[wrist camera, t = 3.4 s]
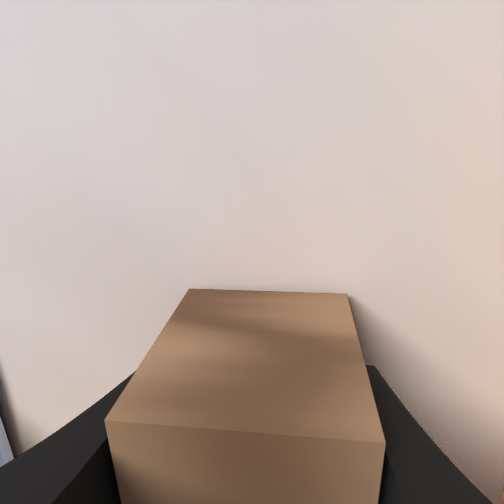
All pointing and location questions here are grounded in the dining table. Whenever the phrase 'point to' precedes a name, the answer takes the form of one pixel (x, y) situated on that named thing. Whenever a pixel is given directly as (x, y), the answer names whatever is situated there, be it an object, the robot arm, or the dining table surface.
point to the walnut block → (250, 406)
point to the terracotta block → (502, 498)
